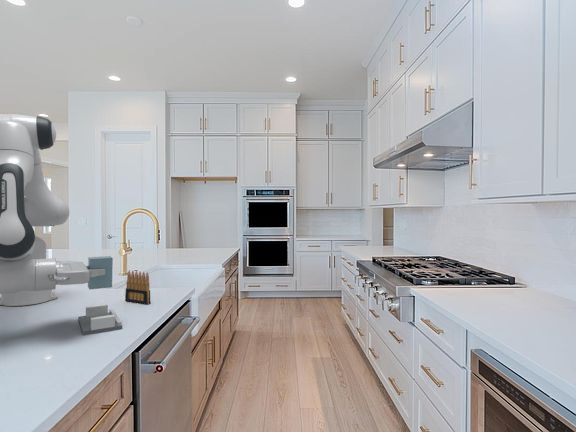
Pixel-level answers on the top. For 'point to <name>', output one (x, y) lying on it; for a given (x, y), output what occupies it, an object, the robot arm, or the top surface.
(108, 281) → the block
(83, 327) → the mounting board
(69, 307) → the top surface
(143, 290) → the ammunition clip
